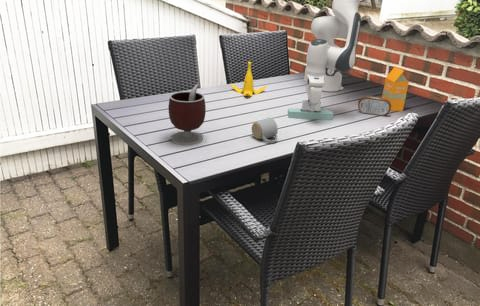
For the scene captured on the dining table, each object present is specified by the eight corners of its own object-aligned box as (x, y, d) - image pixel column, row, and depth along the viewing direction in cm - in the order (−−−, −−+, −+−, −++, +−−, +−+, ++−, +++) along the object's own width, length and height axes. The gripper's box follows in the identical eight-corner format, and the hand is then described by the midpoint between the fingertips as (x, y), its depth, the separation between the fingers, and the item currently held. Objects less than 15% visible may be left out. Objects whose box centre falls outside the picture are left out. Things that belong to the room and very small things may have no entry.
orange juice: (394, 105, 214) (402, 66, 206) (403, 110, 206) (411, 70, 198) (380, 105, 213) (387, 66, 205) (388, 111, 205) (396, 70, 197)
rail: (287, 114, 195) (288, 107, 194) (330, 116, 194) (331, 110, 193) (288, 117, 190) (288, 111, 189) (332, 120, 190) (333, 113, 189)
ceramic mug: (249, 136, 169) (250, 118, 165) (266, 132, 173) (267, 115, 170) (265, 146, 161) (267, 127, 157) (282, 142, 165) (284, 123, 162)
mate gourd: (194, 148, 155) (194, 96, 147) (162, 141, 160) (160, 90, 152) (213, 134, 168) (213, 86, 160) (182, 128, 173) (182, 81, 165)
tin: (389, 115, 199) (392, 98, 196) (389, 117, 197) (392, 100, 193) (356, 111, 203) (359, 94, 200) (356, 112, 201) (359, 96, 197)
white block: (301, 117, 192) (303, 101, 188) (301, 115, 193) (302, 100, 190) (319, 118, 191) (321, 102, 188) (318, 116, 193) (320, 101, 190)
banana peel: (246, 99, 213) (248, 67, 206) (230, 89, 228) (231, 58, 221) (274, 96, 220) (277, 64, 213) (257, 87, 235) (258, 57, 228)
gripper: (304, 71, 194) (301, 100, 200) (309, 83, 176) (306, 114, 181) (318, 72, 194) (315, 100, 200) (324, 84, 175) (320, 115, 181)
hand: (310, 107), depth 190 cm, fingers open, 8 cm apart
